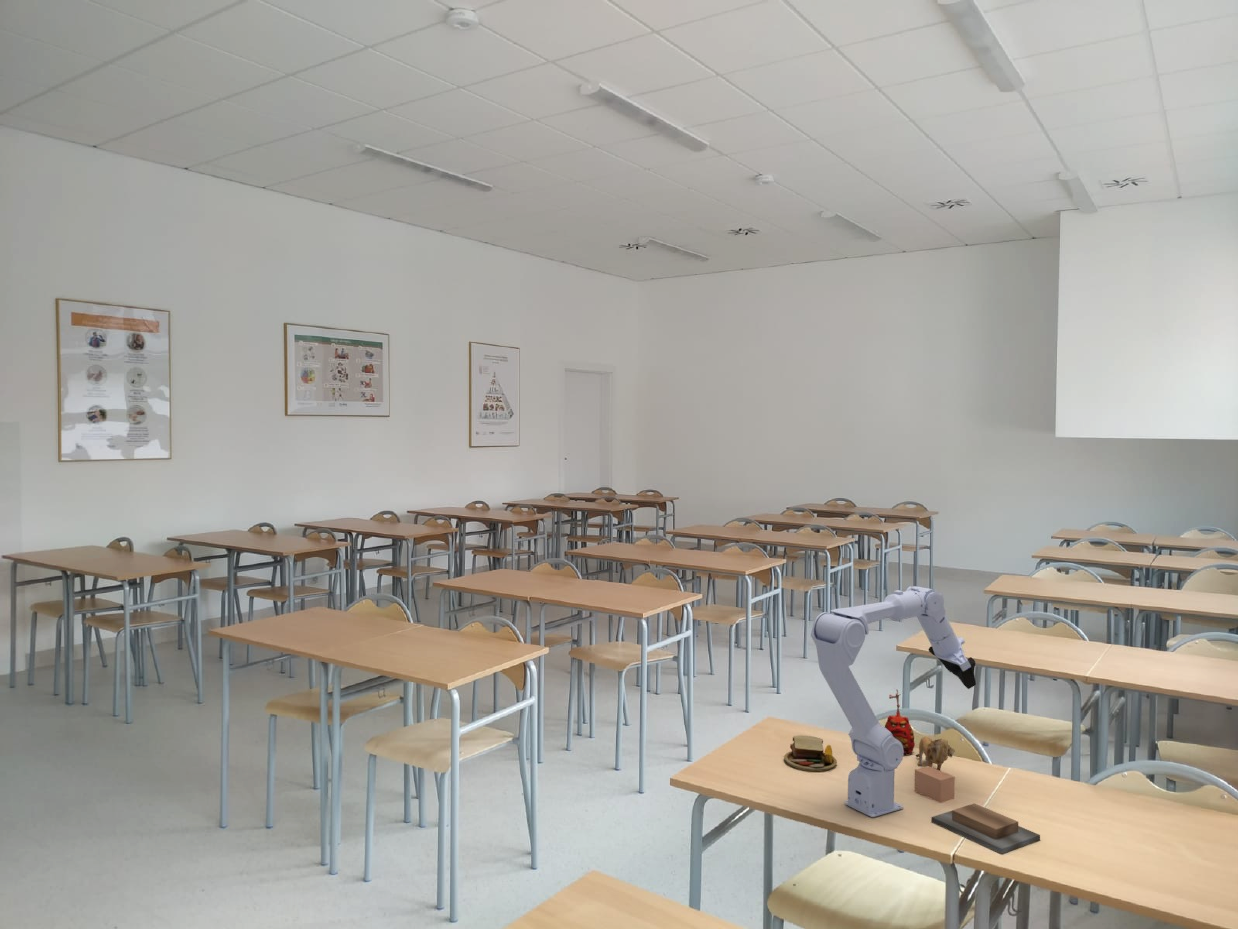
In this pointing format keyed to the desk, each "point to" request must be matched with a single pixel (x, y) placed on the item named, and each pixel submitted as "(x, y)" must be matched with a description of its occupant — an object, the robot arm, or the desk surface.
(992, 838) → the tower base
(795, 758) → the toy sandwich meal
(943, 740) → the lion figurine
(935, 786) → the terracotta brick
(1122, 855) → the desk surface
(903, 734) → the red clay folk toy
